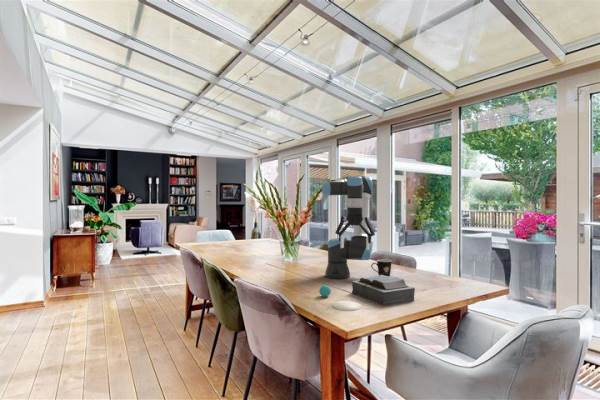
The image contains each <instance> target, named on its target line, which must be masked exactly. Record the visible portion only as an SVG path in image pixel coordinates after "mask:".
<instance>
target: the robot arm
mask: <svg viewBox="0 0 600 400" xmlns="http://www.w3.org/2000/svg"><path fill="white" fill-rule="evenodd" d="M321 185H322V186H321V192H322V195H323V196H329V197H330V196H347V201H346V202H347V203H346V204H347V205H346V206H347V210H346V214H347V216H345V215H342V216H341V217H340V222H339V224H338V226H337V228H336V230H335V232H334V233H335V234H336V235H338V237H335V238H331V239H329V240H328V242H327V264H326V265H327V266H326V268H325V273H324V277H326V278H328V279H335V280H342V279H344V280H345V279H349V278H350V277H351V272H350V269H349V265H348V260H351V261H363V262H364V261H370V260H371V257H372V252H373V244H374V242H373V240H372V237H373V236H375V235H376V233H375V231H374V228H373V227H372V224H371V223H370V217H369V205H370V204H369V201H370V200H369V199H371V198H372V195H374V185H373V178H372V176H369V175H367V176H366V175H363V176H343V177H340V178H337V179H335V180H334V181H323V182H322V184H321ZM346 220H347V222H346V224H345V225H344V223H345V221H346ZM343 225H344V227H343ZM350 226H353V235H352V236H350V240H349V239H348V237H345V236H344V233H345V232H346V230H347V229H348V228H349V227H350Z"/></svg>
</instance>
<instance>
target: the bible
mask: <svg viewBox="0 0 600 400" xmlns="http://www.w3.org/2000/svg"><path fill="white" fill-rule="evenodd" d="M351 284H352V286H351V287H352V288H351V289H352V290H351V293H352V294H354V295H356V296H358V297H362V298H363V299H365V300H368V301H372V302H374V303H375V304H379V305H381V306H390V305H391V306H392V305H396V304H397V305H398V304H402V303H407V302H412V301H415V291H416V288H415V287H413V286H410V285H407V284H406V282H405V279H404V278H400V277H398V276H390V277H389V276H384V275H379V274H378V275H376V276H368V277H361V278H360V279H359V280H352V281H351Z"/></svg>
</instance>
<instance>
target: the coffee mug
mask: <svg viewBox="0 0 600 400" xmlns="http://www.w3.org/2000/svg"><path fill="white" fill-rule="evenodd" d="M373 265H376V266H377V270H376V269H375V268H374V267H373ZM371 269H372V270H373V271H374V272H376V273H377V274H378V276H379V275H384V276H389V277H391V271H392V260H391V259H385V258H384V259H383V258H382V259H377V260H376V262H373V263H372V264H371Z"/></svg>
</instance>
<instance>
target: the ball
mask: <svg viewBox="0 0 600 400" xmlns="http://www.w3.org/2000/svg"><path fill="white" fill-rule="evenodd" d="M331 291H332V290H331V288H330V286H329V285H327V284H324V285H321V286H320V287H319V294H320V295H321V297H323V298H326V297H328V296H330V295H331Z"/></svg>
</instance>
